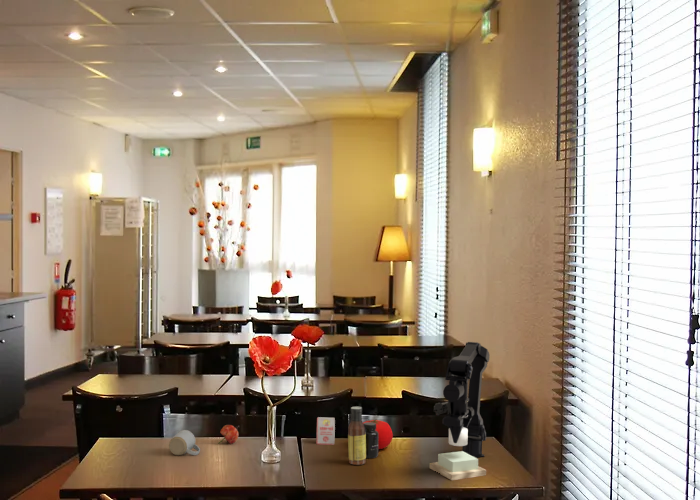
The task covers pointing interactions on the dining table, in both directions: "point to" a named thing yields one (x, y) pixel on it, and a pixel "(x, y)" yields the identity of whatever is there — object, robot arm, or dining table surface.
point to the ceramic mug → (183, 443)
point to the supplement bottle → (371, 440)
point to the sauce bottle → (356, 438)
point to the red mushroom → (229, 433)
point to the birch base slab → (457, 475)
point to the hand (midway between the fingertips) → (458, 440)
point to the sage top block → (457, 461)
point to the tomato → (383, 433)
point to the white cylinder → (460, 438)
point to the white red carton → (325, 431)
